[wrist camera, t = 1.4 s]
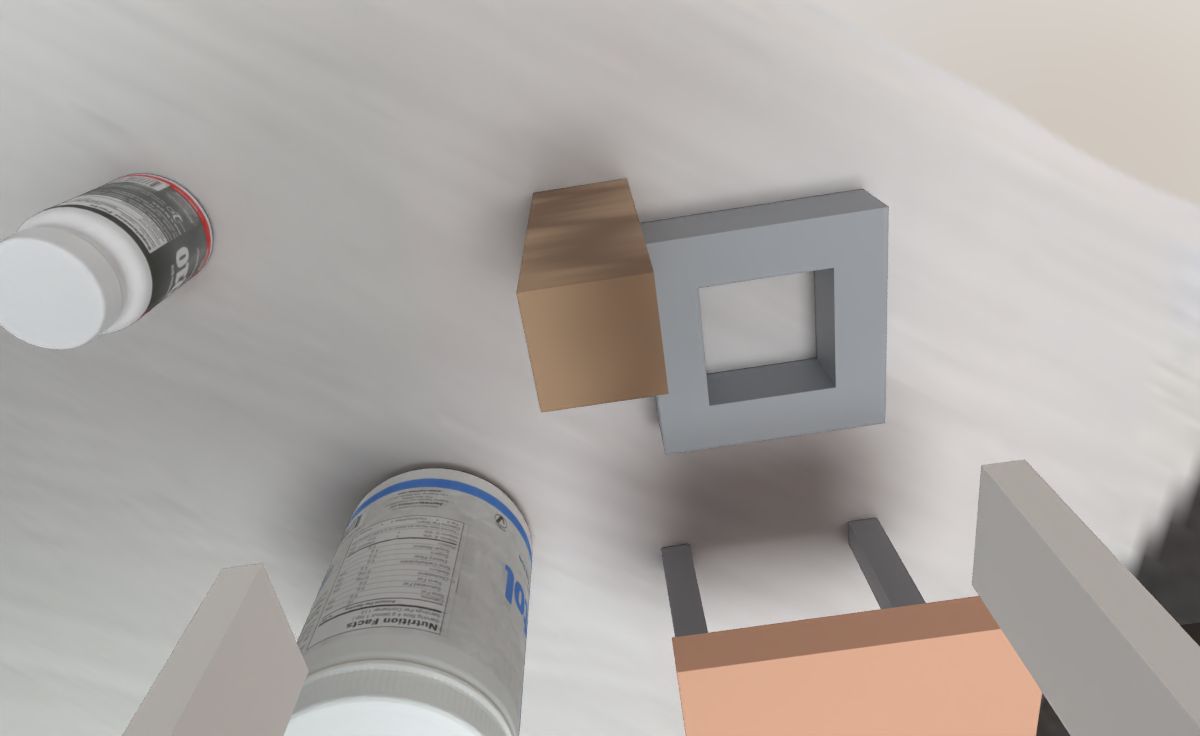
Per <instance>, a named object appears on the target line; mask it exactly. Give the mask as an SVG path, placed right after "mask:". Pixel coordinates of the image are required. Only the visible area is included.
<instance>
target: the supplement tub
mask: <svg viewBox="0 0 1200 736" xmlns="http://www.w3.org/2000/svg"><path fill="white" fill-rule="evenodd" d="M532 554H533V550H532V540H531V535H530V532H529V529H528V526H527V524H526V522H525V520H524V518H523V516H522V514H521V513H520V511H519V510H518V508H517V507H516V506H515V504H514V503H513V502H512V501H511V500H510V499H509V498H508V497H507V496H506V495H505V494H504V493H503V492H502V491H501V490H499V489H498V488H497V487H495V486H494V485H492V484H491V483H489V482H487V481H485V480H483V479H481V478H479V477H476V476H474V475H471V474H468V473H464V472H461V471H457V470H450V469H434V468H430V469H420V470H414V471H409V472H406V473H402V474H399V475H397V476H394V477H392V478H390V479H388V480H386V481H384V482H383V483H381V484H380V485H378V486H377V487H375V488H374V489H373V490H371V491H370V492H369V493H368V494H367V495H366V496H365V497H364V498H363V500H362V501H361V502H360V503H359V505H358V506H357V508H356V509H355V511H354V513H353V515H352V517H351V519H350V521H349V523H348V525H347V528H346V530H345V532H344V534H343V537H342V539H341V542H340V544H339V546H338V549H337V551H336V553H335V555H334V558H333V560H332V562H331V564H330V567H329V569H328V571H327V574H326V576H325V578H324V581H323V583H322V585H321V588H320V590H319V592H318V595H317V597H316V599H315V602H314V604H313V606H312V609H311V611H310V613H309V616H308V618H307V620H306V623H305V625H304V627H303V630H302V632H301V634H300V636H299V639H298V641H297V644H298V647H299V649H300V651H301V654H302V656H303V658H304V661H305V663H306V665H307V668H308V670H309V671H308V674H307V677H306V679H305V682H304V684H303V687H302V689H301V692H300V695H299V697H298V700H297V702H296V705H295V708H294V710H293V713H292V715H291V718H290V720H289V723H288V726H287V728H286V731H285V733H284V736H519V731H520V720H521V706H522V692H523V678H524V665H525V650H526V637H527V624H528V610H529V596H530V583H531V569H532Z"/></svg>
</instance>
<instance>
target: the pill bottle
mask: <svg viewBox="0 0 1200 736" xmlns="http://www.w3.org/2000/svg"><path fill="white" fill-rule="evenodd" d="M212 244H213V236H212V229H211V225H210V222H209V219H208V217H207V215H206V213H205V212H204V210H203V208H202V207H201V206H200V204H199V203H198V202H197V200H196V199H195V198H194V197H193V196H192V195H191V194H190V193H189V192H188V191H187V190H185V189H184V188H183V187H181V186H180V185H178V184H177V183H175V182H173V181H171V180H168V179H166V178H163V177H160V176H156V175H151V174H132V175H127V176H124V177H121V178H118V179H115V180H113V181H111V182H109V183H107V184H105V185H103V186H101V187H98V188H96V189H94V190H91V191H89V192H87V193H84V194H82V195H80V196H77V197H75V198H73V199H70V200H68V201H66V202H63V203H61V204H58V205H56V206H54V207H51V208H49V209H46V210H44V211H42V212H40V213H38V214H36V215H34V216H32V217H31V218H29V219H28V220H27V221H25V222H24V223H23V224H22V225H21V226H20V227H19V229H18V230H17V231H16V233H15V234H14V235H12V236H10V237H9V238H7V239H5V240H3V241H1V242H0V325H1V326H2V327H3V328H4V329H5V330H7V331H8V332H9V333H11V334H12V335H14V336H16V337H17V338H19V339H21V340H22V341H24V342H27V343H29V344H32V345H35V346H38V347H42V348H47V349H56V350H59V349H70V348H75V347H78V346H81V345H83V344H85V343H87V342H89V341H90V340H92V339H93V338H95V337H96V336H98V335H100V334H108V333H113V332H116V331H119V330H121V329H123V328H126V327H127V326H129V325H131V324H133V323H134V322H136V321H137V320H139V319H140V318H141V317H142V316H144V315H145V314H146V313H147V312H148V311H150V310H151V309H152V308H153V307H155V306H156V305H157V304H159V303H160V302H161V301H162V300H163V299H165V298H166V297H167V296H169V295H170V294H171V293H173V292H174V291H175V290H176V289H178V288H179V287H180V286H182V285H183V284H184V283H185V282H187V281H188V280H189V279H191V278H192V277H193V276H194V275H196V274H197V273H198V272H199V271H200V270H201V269H202V268H203V267H204V265H205V264H206V262H207V261H208V259H209V257H210V254H211V250H212Z"/></svg>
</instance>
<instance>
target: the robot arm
mask: <svg viewBox="0 0 1200 736" xmlns="http://www.w3.org/2000/svg"><path fill="white" fill-rule="evenodd" d="M972 585H973V587H974V589H975V590H976V592H977V593H978V595H979V596H980V598H981V599H982V601H983V602H984V604H985V605H986V607H987V608H988V610H989V611H990V613H991V615H992V616H993V618H994V619H995V621H996V622H997V624H998V625H999V627H1000V628H1001V630H1002V631H1003V633H1004V634H1005V636H1006V637H1007V639H1008V641H1009V642H1010V644H1011V645H1012V647H1013V648H1014V650H1015V651H1016V653H1017V654H1018V656H1019V657H1020V659H1021V660H1022V662H1023V664H1024V665H1025V667H1026V668H1027V670H1028V671H1029V673H1030V674H1031V676H1032V677H1033V679H1034V680H1035V682H1036V683H1037V685H1038V686H1039V688H1040V690H1041V691H1042V693H1043V694H1044V696H1045V697H1046V699H1047V700H1048V702H1049V703H1050V705H1051V706H1052V708H1053V709H1054V711H1055V712H1056V714H1057V716H1058V717H1059V719H1060V720H1061V722H1062V723H1063V725H1064V726H1065V728H1066V729H1067V731H1068V732H1069V734H1070V735H1071V736H1200V623H1193V624H1185V625H1179V624H1178V623H1177V622H1176V621H1175V620H1174V619H1173V617H1172V616H1171V615H1170V614H1169V613H1168V612H1167V611H1166V610H1165V609H1164V608H1163V607H1162V606H1161V605H1160V604H1159V603H1158V601H1157V600H1156V599H1155V598H1154V597H1153V596H1152V595H1151V594H1150V593H1149V592H1148V591H1147V590H1146V589H1145V588H1144V586H1143V585H1142V584H1141V583H1140V582H1139V581H1138V580H1137V579H1136V578H1135V577H1134V576H1133V575H1132V574H1131V573H1130V571H1129V570H1128V569H1127V568H1126V567H1125V566H1124V565H1123V564H1122V563H1121V562H1120V561H1119V560H1118V559H1117V558H1116V556H1115V555H1114V554H1113V553H1112V552H1111V551H1110V550H1109V549H1108V548H1107V547H1106V546H1105V545H1104V544H1103V543H1102V542H1101V540H1100V539H1099V538H1098V537H1097V536H1096V535H1095V534H1094V533H1093V532H1092V531H1091V530H1090V529H1089V528H1088V527H1087V525H1086V524H1085V523H1084V522H1083V521H1082V520H1081V519H1080V518H1079V517H1078V516H1077V515H1076V514H1075V513H1074V512H1073V510H1072V509H1071V508H1070V507H1069V506H1068V505H1067V504H1066V503H1065V502H1064V501H1063V500H1062V499H1061V498H1060V497H1059V495H1058V494H1057V493H1056V492H1055V491H1054V490H1053V489H1052V488H1051V487H1050V486H1049V485H1048V484H1047V483H1046V482H1045V480H1044V479H1043V478H1042V477H1041V476H1040V475H1039V474H1038V473H1037V472H1036V471H1035V470H1034V469H1033V468H1032V467H1031V466H1030V464H1029V463H1028V462H1027V461H1026V460H1017V461H1010V462H1003V463H995V464H988V465H981V475H980V488H979V500H978V513H977V526H976V538H975V551H974V564H973V576H972ZM308 671H309V670H308V668H307V665H306V663H305V661H304V658H303V656H302V654H301V651H300V649H299V647H298V644H297V642H296V640H295V637H294V635H293V633H292V630H291V628H290V626H289V623H288V621H287V619H286V616H285V614H284V612H283V609H282V607H281V605H280V602H279V600H278V598H277V595H276V593H275V591H274V588H273V586H272V584H271V581H270V579H269V577H268V574H267V572H266V569H265V567H264V565H263V563H261V564H253V565H246V566H239V567H231V568H224V569H222V570H221V572H220V574H219V575H218V577H217V579H216V580H215V582H214V584H213V585H212V587H211V589H210V590H209V592H208V594H207V595H206V597H205V599H204V600H203V602H202V604H201V605H200V607H199V609H198V610H197V612H196V614H195V615H194V617H193V619H192V620H191V622H190V624H189V625H188V627H187V629H186V630H185V632H184V634H183V635H182V637H181V639H180V640H179V642H178V644H177V645H176V647H175V649H174V650H173V652H172V654H171V655H170V657H169V659H168V660H167V662H166V664H165V665H164V667H163V669H162V670H161V672H160V673H159V675H158V677H157V678H156V680H155V682H154V683H153V685H152V687H151V688H150V690H149V692H148V693H147V695H146V697H145V698H144V700H143V702H142V703H141V705H140V707H139V708H138V710H137V712H136V713H135V715H134V717H133V718H132V720H131V722H130V723H129V725H128V727H127V728H126V730H125V732H124V733H123V735H122V736H284V733H285V731H286V728H287V726H288V723H289V720H290V718H291V715H292V713H293V710H294V708H295V705H296V702H297V700H298V697H299V695H300V692H301V689H302V687H303V684H304V682H305V679H306V677H307V674H308Z"/></svg>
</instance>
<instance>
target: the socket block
mask: <svg viewBox="0 0 1200 736" xmlns="http://www.w3.org/2000/svg"><path fill="white" fill-rule="evenodd" d="M888 215H889V207H888V206H887V205H885V204H884V203H882V202H881V201H880V200H878V199H877V198H875V197H874V196H873V195H871V194H870V193H868V192H867V191H866V190H864V189H860V190H853V191H846V192H840V193H833V194H827V195H820V196H814V197H807V198H801V199H794V200H788V201H781V202H775V203H768V204H762V205H755V206H749V207H742V208H736V209H729V210H723V211H716V212H710V213H703V214H697V215H690V216H684V217H677V218H671V219H664V220H658V221H651V222H644V223H640V226H641V230H642V233H643V237H644V240H645V243H646V247H647V250H648V254H649V257H650V261H651V264H652V268H653V271H654V277H655V286H656V294H657V302H658V310H659V318H660V326H661V335H662V343H663V351H664V359H665V367H666V376H667V384H668V392H669V394H665V395H658V396H655V397H656V404H657V412H658V419H659V425H660V430H661V435H662V440H663V445H664V450H665V455H667V454H674V453H681V452H688V451H695V450H702V449H708V448H715V447H722V446H729V445H736V444H743V443H750V442H757V441H764V440H771V439H778V438H785V437H792V436H799V435H806V434H813V433H820V432H827V431H834V430H841V429H848V428H855V427H862V426H869V425H876V424H883V423H885V406H886V342H887V279H888ZM808 271H814V278H815V314H816V350H817V358H815V359H808V360H801V361H794V362H788V363H781V364H774V365H767V366H760V367H754V368H747V369H740V370H733V371H726V372H720V373H713V374H706V366H705V356H704V345H703V335H702V325H701V315H700V304H699V294H698V288H702V287H709V286H715V285H722V284H729V283H735V282H742V281H749V280H755V279H762V278H769V277H775V276H782V275H789V274H795V273H802V272H808Z"/></svg>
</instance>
